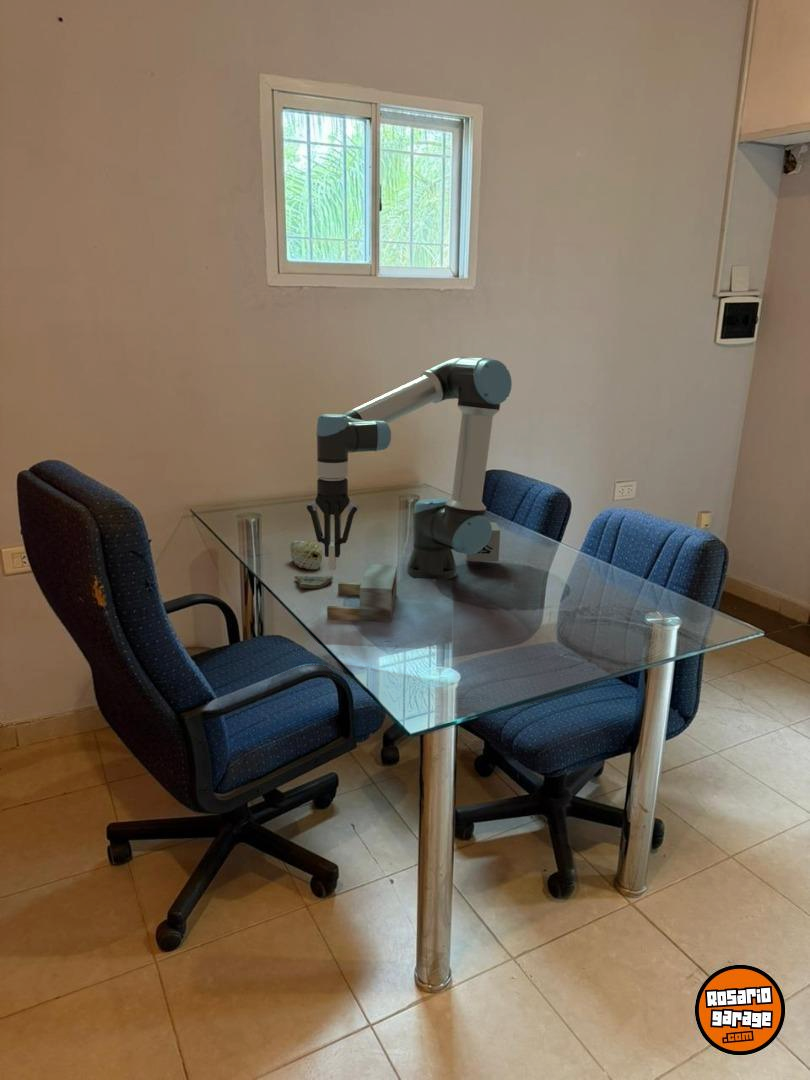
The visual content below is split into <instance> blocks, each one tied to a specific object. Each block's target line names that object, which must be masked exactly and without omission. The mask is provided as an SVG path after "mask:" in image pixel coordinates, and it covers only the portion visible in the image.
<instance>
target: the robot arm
mask: <svg viewBox="0 0 810 1080" xmlns="http://www.w3.org/2000/svg"><path fill="white" fill-rule="evenodd" d="M512 384H513V382H512V377H511V372H510V371H509V369H507V366H506V365H505V364H504V363H503V362H501V361H500V360H498V359H495V358H494V359H493V358H488V357H485V358H484V357H466V356H460V357H458V356H457V357H454V358H451V359H448V360H446V361H444V362H441V363H439V364H437V365H435V366H433V367H431V368H429V369H426V370H424V371H422V373H421V374H420V376H419V377H418V378H416V379H414V380H411V381H410V382H407V383H405V384H403V385H401V386H399V387H397V388H395V389H392V390H391V391H389V392H386V393H384V394H382V395H381V396H378V397H376V398H374V399H372V400H370V401H368V402H365V403H363V404H361V405H360V406H357V407H355V408H353V409H350V410H349V411H345V412H344V413H342V414H340V413H339V414H338V413H326V414H323V413H322V414H321V415H319V416H318V417H317V425H316V450H317V451H316V452H317V453H316V454H317V455H316V457H317V458H316V459H317V460H316V471H317V472H316V476H317V477H318V478H317V482H316V484H317V486H316V487H317V493H316V494H317V495H316V497H315V501H312V503H308V504H307V506H306V510H307V511H308V512H309V514H310V517H311V522H312V525H313V529H314V533H315V536H316V542H318V543H322V544H324V545H323V546H324V556H325V558H328V571H332V572H333V571H335V570H336V569H337V558H340V556H341V545H342V544H346V543H347V541H348V538H349V535H350V533H351V532H350V531H351V527H352V523H353V519H354V516H355V514H356V513H357V511H358V509H359V506H358V505H357V504H354V503H352V502H351V500H350V497H349V493H348V492H349V491H348V487H349V485H348V484H349V480H348V479H347V477H348V476H349V473H348V471H349V470H348V468H349V466H348V464H349V462H348V461H349V453H359V452H360V453H361V452H362V453H363V452H364V453H365V452H377V451H382V450H386V449H388V447H389V446H391V445H390V444H391V441H392V432H391V427H390V425H389V423H392V422H393V421H396V420H398V419H400V418H401V417H404V416H405V415H408V414H411V413H412V412H414V411H416V410H418V409H420V408H422V407H425V406H426V405H428V404H430V403H433V404H438V403H441V402H442V401H445V400H454V399H457V407H458V409H459V410H460V412H461V420H460V429H459V437H458V445H457V450H456V451H457V452H456V459H455V468H454V469H455V470H454V477H453V486H452V492H451V497H450V498H444V497H442V498H440V497H439V498H425V499H419V500H418V501H416V502H415V504H414V507H413V543H412V544H413V545H412V551H411V554H410V556H409V560H408V562H407V564H406V572H407V573H408V575H409V576H411V577H412V578H414V579H419V580H420V579H423V580H425V579H426V580H445V581H447V580H450V579H452V578H454V577H456V576H457V570H458V569H457V564H456V560H455V558H454V553H453V551H454V552H457V553H459V554H464V555H465V554H469V555H470V554H475V553H478V552H479V551H481V550H482V549H483V547H485V546H486V545H487V543H488V542H489V540H490V537H491V533H492V526H491V524H490V523H491V522H490V520H489V518H488V517H486V512H487V506H486V505H485V504H484V503H483V494H484V486H485V480H486V479H485V478H486V471H487V464H488V463H487V462H488V456H489V450H490V441H491V433H492V429H493V428H492V426H493V418H494V416H495V415H497V414H498V412H500V408H501V404H502V403H504V402H505V401H507V398H508V397H509V396H510V393H511V391H512V386H513V385H512ZM318 508H319V510H320V511H321V512H322V513H323V519H324V524H323V526H324V528H323V529H322V526H321V523H320V518H319V514H318V511H317V510H318ZM346 508H348V509H347V512H348V514H347V518H346V522H345V526H344V529H343V530H344V531H343V535H342V534H341V533H342V532H341V529H342V527H341V526H342V523H341V521H342V520H341V519H342V513H344V511H345V510H346ZM332 515H333V517H334V518H333V520H334V542H332V538H331V532H332V531H331V530H332V528H331V526H332V525H331V523H332V522H331V519H332ZM323 531H324V532H323ZM323 533H324V534H323ZM341 536H342V537H341ZM452 550H453V551H452Z"/></svg>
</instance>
